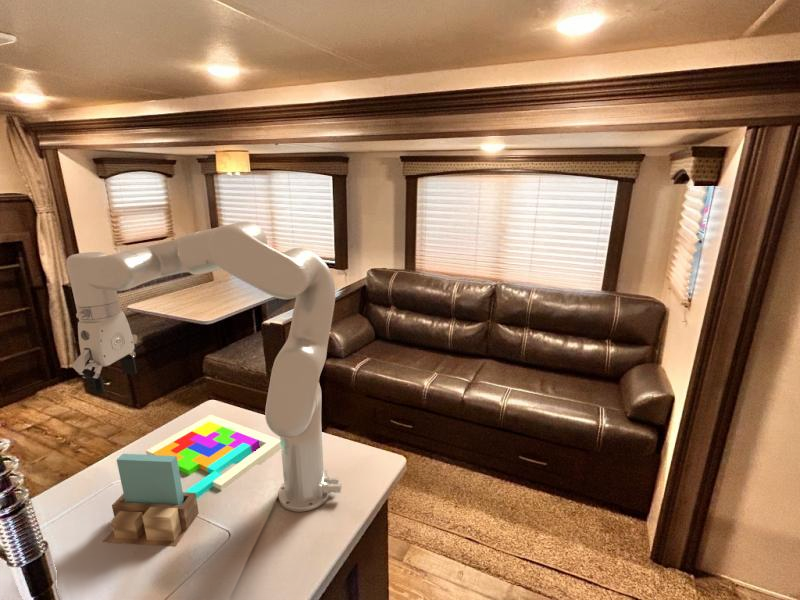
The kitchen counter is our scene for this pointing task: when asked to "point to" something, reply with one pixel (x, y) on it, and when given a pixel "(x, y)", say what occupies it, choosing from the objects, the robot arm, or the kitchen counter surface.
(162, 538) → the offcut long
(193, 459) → the puzzle game
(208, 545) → the kitchen counter surface
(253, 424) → the kitchen counter surface
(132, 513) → the offcut short
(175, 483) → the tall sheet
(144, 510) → the rack
